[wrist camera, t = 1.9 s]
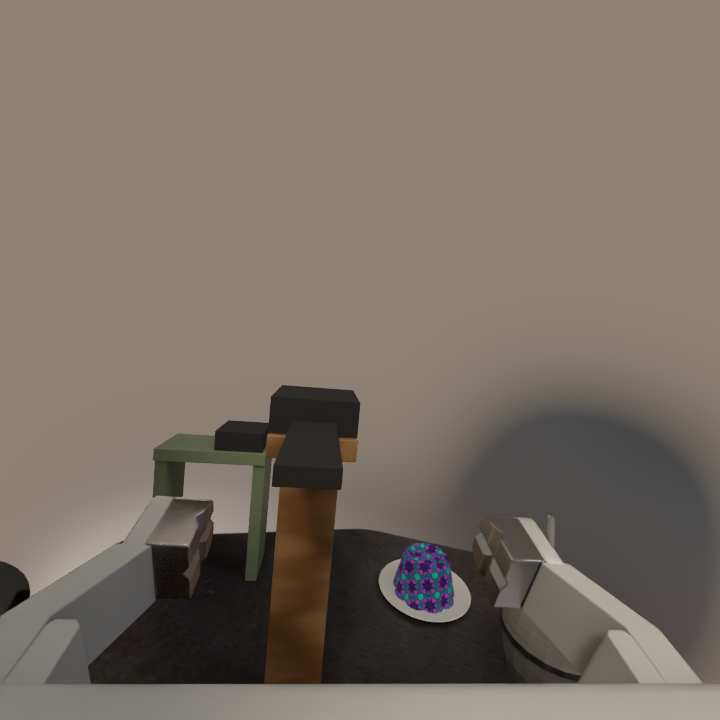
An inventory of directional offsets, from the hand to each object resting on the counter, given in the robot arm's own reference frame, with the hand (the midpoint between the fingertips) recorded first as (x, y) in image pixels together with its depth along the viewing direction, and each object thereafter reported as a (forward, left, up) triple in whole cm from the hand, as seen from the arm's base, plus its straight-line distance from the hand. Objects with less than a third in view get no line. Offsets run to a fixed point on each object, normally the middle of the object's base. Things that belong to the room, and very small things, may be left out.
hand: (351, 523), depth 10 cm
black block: (-11, +38, -10) cm, 40 cm away
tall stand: (-1, +16, -27) cm, 31 cm away
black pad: (-1, +12, -1) cm, 12 cm away
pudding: (+15, +33, -27) cm, 45 cm away
